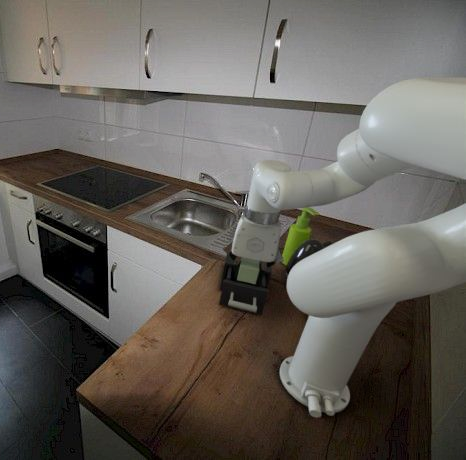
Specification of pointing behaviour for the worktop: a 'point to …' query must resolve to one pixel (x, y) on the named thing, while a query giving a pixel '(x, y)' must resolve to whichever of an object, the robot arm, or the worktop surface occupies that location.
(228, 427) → the worktop surface
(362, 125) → the robot arm
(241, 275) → the block
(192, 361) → the worktop surface
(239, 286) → the black drawer with handle
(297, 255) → the black rounded piece
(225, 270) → the black drawer box
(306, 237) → the soap dispenser
